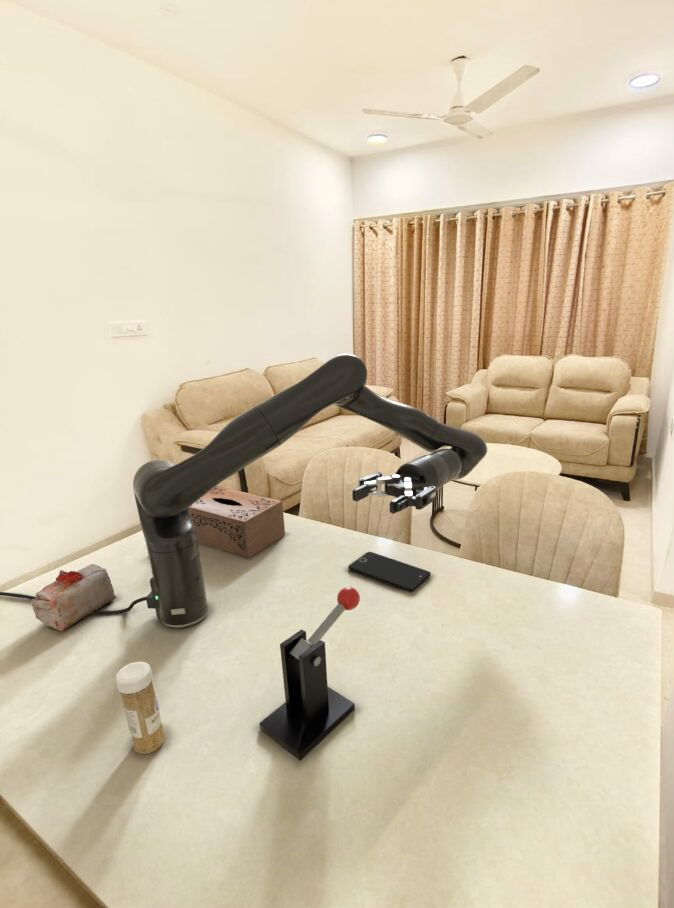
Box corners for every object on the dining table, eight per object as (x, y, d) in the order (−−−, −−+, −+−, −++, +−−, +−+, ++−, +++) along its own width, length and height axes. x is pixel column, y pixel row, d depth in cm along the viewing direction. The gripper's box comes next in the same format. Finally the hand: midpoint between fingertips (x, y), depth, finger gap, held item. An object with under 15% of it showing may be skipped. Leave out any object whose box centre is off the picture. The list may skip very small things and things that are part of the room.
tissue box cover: (177, 535, 137) (171, 502, 134) (216, 515, 149) (212, 484, 145) (249, 557, 126) (244, 522, 122) (285, 534, 137) (282, 501, 134)
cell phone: (368, 554, 127) (368, 550, 126) (431, 575, 117) (431, 572, 117) (347, 569, 120) (347, 566, 119) (412, 593, 110) (412, 589, 110)
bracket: (315, 684, 86) (310, 612, 80) (355, 709, 80) (352, 634, 75) (259, 729, 77) (250, 652, 72) (300, 761, 72) (292, 680, 66)
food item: (60, 637, 98) (47, 594, 94) (34, 626, 101) (21, 585, 97) (120, 600, 109) (110, 561, 106) (95, 591, 112) (85, 553, 109)
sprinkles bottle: (169, 745, 74) (153, 674, 69) (136, 760, 72) (117, 688, 67) (162, 725, 78) (147, 655, 73) (130, 738, 76) (112, 668, 71)
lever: (349, 593, 83) (343, 579, 81) (366, 601, 81) (360, 587, 79) (292, 661, 75) (284, 648, 73) (309, 672, 73) (301, 659, 71)
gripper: (394, 451, 102) (341, 473, 91) (455, 465, 94) (405, 491, 82) (394, 485, 105) (342, 511, 93) (453, 502, 97) (404, 532, 85)
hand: (372, 502), depth 88 cm, fingers open, 8 cm apart
